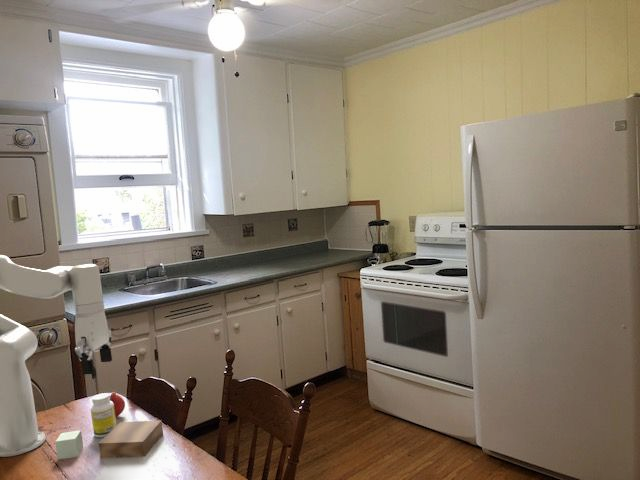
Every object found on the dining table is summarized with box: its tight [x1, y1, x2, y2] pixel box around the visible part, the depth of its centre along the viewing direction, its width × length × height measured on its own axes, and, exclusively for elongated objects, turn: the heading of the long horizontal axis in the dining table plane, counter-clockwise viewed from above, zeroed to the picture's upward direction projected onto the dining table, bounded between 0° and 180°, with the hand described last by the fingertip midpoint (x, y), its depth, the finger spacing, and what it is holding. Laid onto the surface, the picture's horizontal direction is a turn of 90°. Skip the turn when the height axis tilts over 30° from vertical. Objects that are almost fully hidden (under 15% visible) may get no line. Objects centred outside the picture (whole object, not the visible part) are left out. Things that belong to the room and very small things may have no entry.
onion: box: [110, 391, 126, 419], centre depth 158 cm, size 6×6×8 cm
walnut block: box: [97, 419, 164, 459], centre depth 139 cm, size 12×12×4 cm
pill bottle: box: [90, 392, 118, 438], centre depth 148 cm, size 6×6×11 cm
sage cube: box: [54, 429, 84, 460], centre depth 138 cm, size 5×5×5 cm
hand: (97, 367), depth 146 cm, fingers open, 9 cm apart
